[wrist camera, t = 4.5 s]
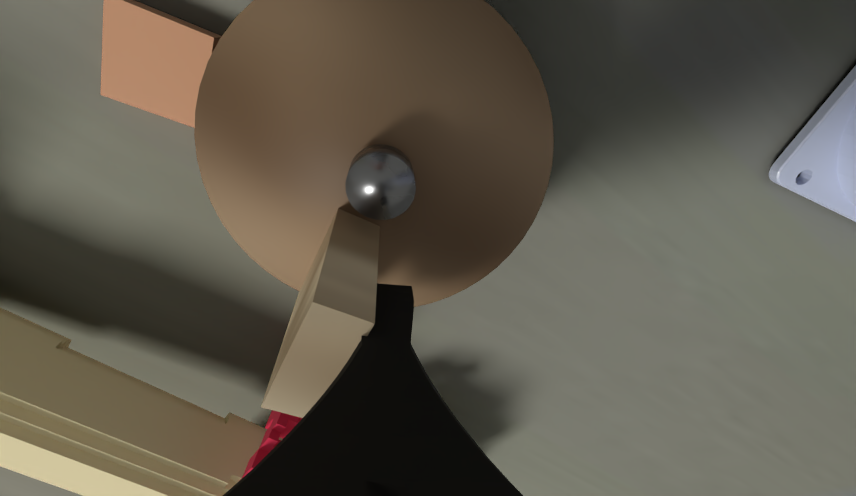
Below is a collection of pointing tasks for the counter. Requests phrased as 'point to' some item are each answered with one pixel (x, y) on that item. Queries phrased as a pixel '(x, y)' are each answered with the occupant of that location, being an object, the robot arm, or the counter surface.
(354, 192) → the pivot pin
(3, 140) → the counter surface
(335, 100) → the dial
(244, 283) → the counter surface
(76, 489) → the toy vehicle
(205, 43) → the salmon square tile
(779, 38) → the counter surface
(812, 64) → the counter surface
